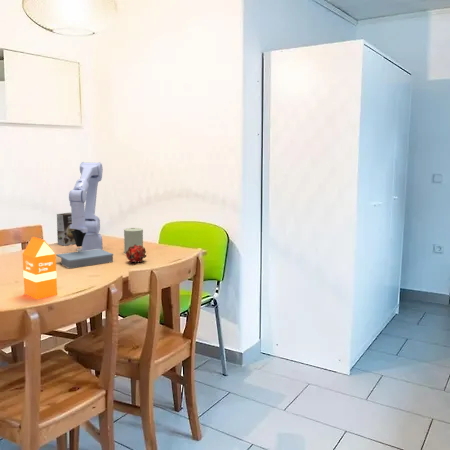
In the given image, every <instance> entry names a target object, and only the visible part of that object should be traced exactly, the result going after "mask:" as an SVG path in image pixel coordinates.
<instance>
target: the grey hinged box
mask: <svg viewBox="0 0 450 450" xmlns="http://www.w3.org/2000/svg"><path fill="white" fill-rule="evenodd" d="M60 262H61V265H62V266H63V267H66V268H67V269H76V268H83V267H89V266H95V265H102V264H108V263H109V262H110V263H113V262H114V254H113V255H112V256H105V257H98V258H91V259H84V260H77V261H70V262H69V261H66V260H64V259H62V258H60Z"/></svg>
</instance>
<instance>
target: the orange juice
mask: <svg viewBox="0 0 450 450" xmlns="http://www.w3.org/2000/svg"><path fill="white" fill-rule="evenodd" d="M21 254H22V269H23V271H22V272H23V273H22V274H23V286H24V287H23V289H24V290H23V291H24V295H26V294H27V295H26V296H28V295H29V296H28V297H30V296H31V297H30V298H32V297H33V298H32V299H35V300H41V299H44V298H49V297H54V296H57V295H58V283H57V280H58V279H57V262H56V261H57V260H56V257H57V256H56V252H54V250H53V249H52V248H51V247H50V245H49V244H48V242H47V241H46V240H45V239H43V238H39V237H36V236H31V239H30V240H29V242H28V244H27V245H26V248H25V249H24V251H23V252H22V253H21Z"/></svg>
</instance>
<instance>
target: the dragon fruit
mask: <svg viewBox="0 0 450 450" xmlns="http://www.w3.org/2000/svg"><path fill="white" fill-rule="evenodd" d="M125 257H126V258H127V260H128V261H129V263H130V264H133V263H132V262H135V263H137V262H138V263H139V262H140V263H142V262H143V261H144V260H143V259H145V258H146V257H147V254H146V248H145V247H144V246H143V247H142V246H141V245H139V246H138V245H136V244H135V245H134V246H131V247H129V249H128V250H127V252H126V254H125Z"/></svg>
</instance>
